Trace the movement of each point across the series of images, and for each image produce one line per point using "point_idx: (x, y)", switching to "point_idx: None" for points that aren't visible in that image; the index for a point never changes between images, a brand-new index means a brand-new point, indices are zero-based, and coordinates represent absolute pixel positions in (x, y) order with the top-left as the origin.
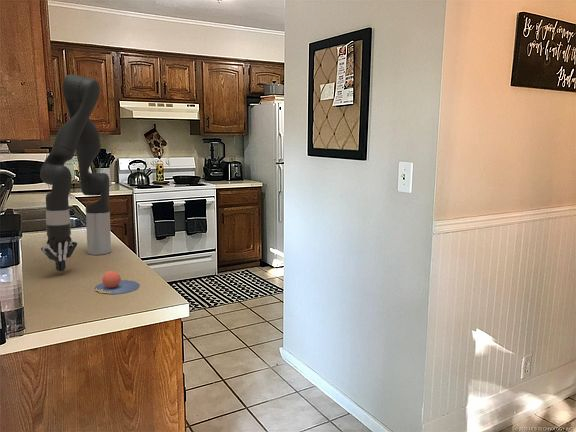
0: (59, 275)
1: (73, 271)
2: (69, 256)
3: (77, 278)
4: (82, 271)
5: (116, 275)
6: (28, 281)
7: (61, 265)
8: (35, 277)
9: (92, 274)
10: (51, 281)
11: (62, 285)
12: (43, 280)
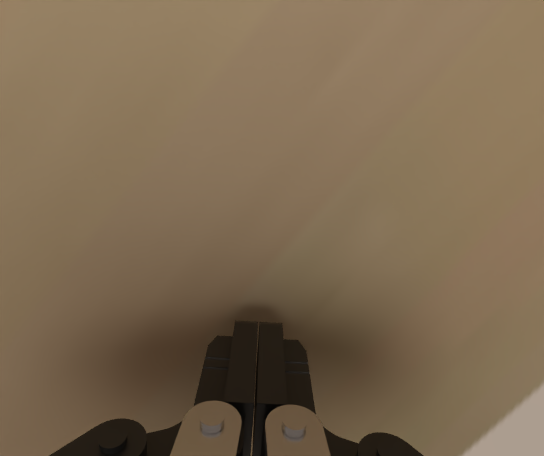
0: (278, 319)
1: (115, 316)
2: (115, 427)
3: (256, 78)
4: (56, 245)
5: None
6: (531, 385)
7: (274, 360)
8: (419, 426)
9: (50, 53)
10: (458, 227)
11: (532, 2)
12: (461, 311)
